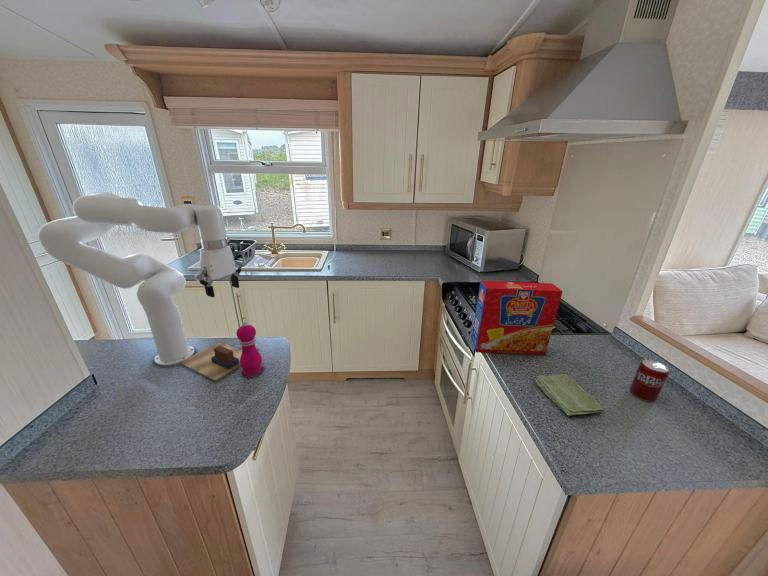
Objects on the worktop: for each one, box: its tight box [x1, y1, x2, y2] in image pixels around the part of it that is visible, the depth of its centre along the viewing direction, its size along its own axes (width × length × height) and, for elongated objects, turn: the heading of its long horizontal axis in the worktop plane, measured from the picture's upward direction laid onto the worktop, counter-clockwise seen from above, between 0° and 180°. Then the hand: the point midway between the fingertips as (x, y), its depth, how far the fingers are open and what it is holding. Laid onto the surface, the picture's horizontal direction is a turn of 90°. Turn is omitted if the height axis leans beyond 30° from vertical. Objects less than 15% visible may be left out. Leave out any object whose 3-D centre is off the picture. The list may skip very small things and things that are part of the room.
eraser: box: [211, 345, 239, 370], centre depth 110 cm, size 9×4×6 cm, turn 62°
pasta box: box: [470, 280, 563, 356], centre depth 121 cm, size 28×8×28 cm, turn 88°
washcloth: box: [534, 373, 604, 417], centre depth 100 cm, size 13×18×3 cm
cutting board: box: [179, 341, 242, 381], centre depth 113 cm, size 20×16×1 cm
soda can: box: [629, 359, 671, 403], centre depth 100 cm, size 7×7×12 cm
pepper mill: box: [236, 321, 263, 376], centre depth 104 cm, size 7×7×20 cm
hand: (223, 291), depth 107 cm, fingers open, 9 cm apart
